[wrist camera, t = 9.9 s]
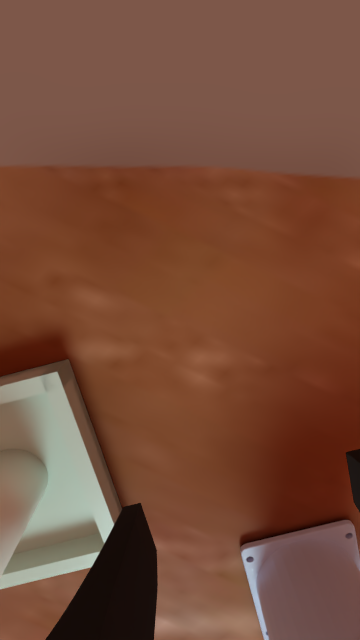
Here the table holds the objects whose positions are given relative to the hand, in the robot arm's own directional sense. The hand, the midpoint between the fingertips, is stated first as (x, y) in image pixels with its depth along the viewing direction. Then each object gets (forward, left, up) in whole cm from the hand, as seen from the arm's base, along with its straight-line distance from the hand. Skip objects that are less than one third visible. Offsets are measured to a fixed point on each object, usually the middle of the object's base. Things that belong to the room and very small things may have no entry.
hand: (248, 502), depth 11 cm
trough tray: (-3, +14, -9) cm, 17 cm away
